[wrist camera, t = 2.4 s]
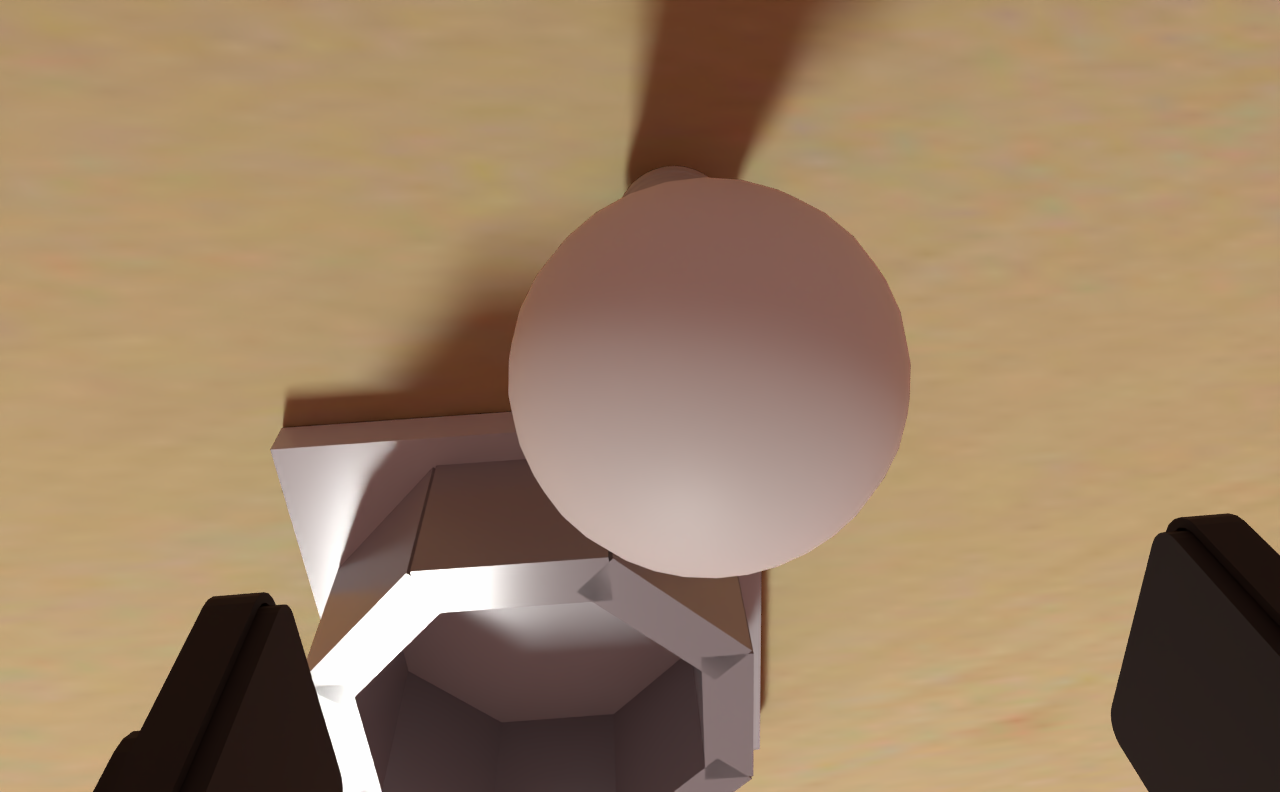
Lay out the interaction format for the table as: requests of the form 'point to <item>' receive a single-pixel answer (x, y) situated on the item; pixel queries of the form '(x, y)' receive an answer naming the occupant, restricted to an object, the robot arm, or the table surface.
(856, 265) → the lightbulb
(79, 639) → the table surface
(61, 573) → the table surface
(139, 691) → the table surface
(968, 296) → the table surface
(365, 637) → the socket
